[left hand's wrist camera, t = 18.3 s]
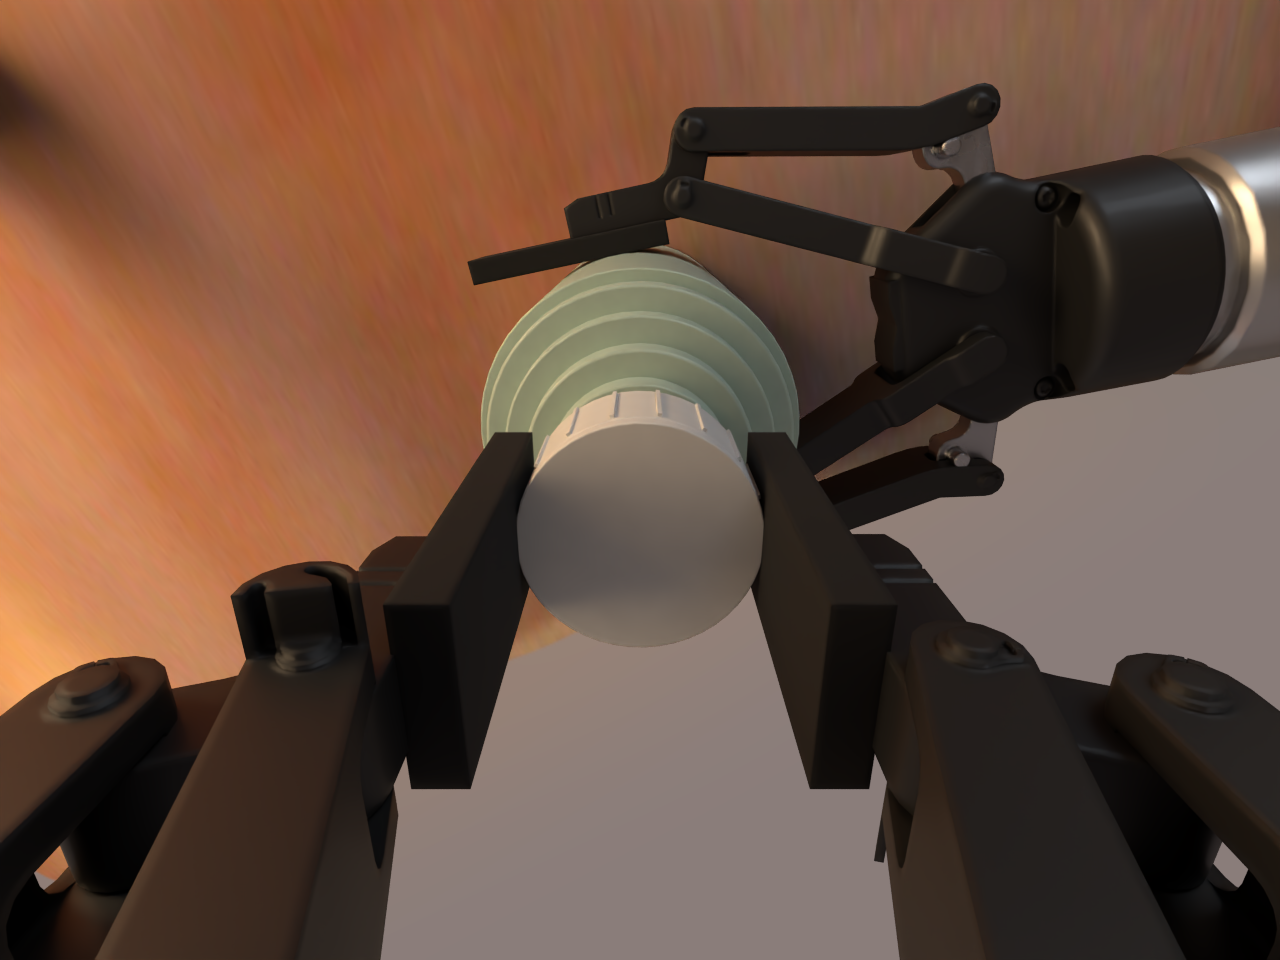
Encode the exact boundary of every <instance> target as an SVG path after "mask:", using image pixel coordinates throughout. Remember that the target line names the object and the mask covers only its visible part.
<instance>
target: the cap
mask: <svg viewBox="0 0 1280 960" xmlns="http://www.w3.org/2000/svg"><path fill="white" fill-rule="evenodd" d="M534 467H535V468H534V470H533V472H532V475H531V477H530V479H529V482H528V484H527V487H526V489H525V492H524V494H523V497H522V499H521V501H520V506H519V510H518V514H517V536H518V550H519V562H520V566H521V569H522V572H523V574H524V576H525V579H526V581H527V583H528V585H529V587H530V588H531V590H532V591H533V593H534V594H535V596H536V597H537V598H538V600H539V601H540V602H541V603H542V604H543V605H544V607H545V608H546V609H547V610H548V611H549V612H550V613H551V614H552V615H554V616H555V617H556V618H557V619H558V620H559V621H561V622H562V623H564V624H565V625H567V626H568V627H570V628H571V629H573V630H575V631H577V632H579V633H581V634H583V635H585V636H587V637H590V638H593V639H595V640H598V641H601V642H605V643H609V644H613V645H619V646H626V647H654V646H662V645H667V644H672V643H676V642H679V641H683V640H685V639H689V638H691V637H693V636H696V635H698V634H700V633H702V632H704V631H706V630H707V629H709V628H711V627H712V626H714V625H716V624H717V623H718V622H719V621H721V620H722V619H723V618H725V617H726V616H727V615H728V614H729V613H730V612H731V611H732V610H733V609H734V608H735V607H736V606H737V605H738V604H739V603H740V602H741V600H742V599H743V598H744V596H745V595H746V594H747V592H748V591H749V589H750V587H751V585H752V584H753V582H754V580H755V578H756V575H757V573H758V571H759V568H760V565H761V556H762V542H763V528H764V517H763V511H762V507H761V504H760V501H759V499H761V495H760V492H759V490H758V488H757V485H756V483H755V480H754V478H753V476H752V473H751V471H750V469H749V466H748V464H745V463H744V461H743V459H742V456H741V454H740V452H739V450H738V448H737V445H736V443H735V441H734V438H733V436H732V433H731V431H730V430H729V429H728V430H726V429H725V428H724V427H723V426H722V425H721V424H720V423H719V422H718V421H717V420H716V419H715V418H714V417H712V416H711V415H710V414H709V413H707V412H706V411H705V410H703V409H701V406H700V404H698V403H696V404H693V403H691V402H689V401H686V400H684V399H682V398H679V397H676V396H672V395H669V394H666V393H660V390H656V391H655V392H653V391H629V392H620V393H617V391H614V392H613V393H612V395H607V396H605V397H602V398H599V399H596V400H594V401H592V402H590V403H588V404H586V405H584V406H582V407H580V408H578V407H576V408H574V410H573V413H572V414H571V415H569V416H568V417H567V418H566V419H565V420H564V421H563V422H562V423H561V424H560V425H558V427H557V428H556V429H555V430H554V432H553V433H552V434H551V435H550V436H549V435H547V436H546V438H545V440H544V442H543V445H542V447H541V449H540V452H539V454H538V457H537V459H536V462H535V464H534Z"/></svg>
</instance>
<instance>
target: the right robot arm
mask: <svg viewBox="0 0 1280 960" xmlns="http://www.w3.org/2000/svg"><path fill="white" fill-rule="evenodd" d="M999 108H1000V95H999V93H998V90H997V89H996V88H995V87H994V86H993V85H990V84H987V83H982V84H976V85H974V86H971V87H968V88H966V89H963V90H960V91H958V92H955V93H952V94H949V95H947V96H944V97H942V98H939V99H936V100H934V101H931V102H929V103H926V104H924V105H921V106H863V107H693V108H689V109H686V110H685V111H683V112H682V113H681V114H680V115H679V116H678V118H677V120H676V121H675V124H674V126H673V129H672V133H671V139H670V146H669V153H668V159H667V165H666V168H665V171H664V173H663V174H662V175H661V176H660V177H659V178H658V179H657V180H655V181H653V182H650V183H647V184H643V185H638V186H633V187H629V188H624V189H620V190H615V191H611V192H606V193H601V194H597V195H592V196H588V197H583V198H579V199H577V200H575V201H574V202H572V203H571V204H570V205H568V206H567V207H565V208H564V211H565V215H566V220H567V224H568V229H569V233H570V238H569V239H564V240H559V241H555V242H550V243H545V244H541V245H536V246H531V247H527V248H522V249H517V250H513V251H508V252H504V253H499V254H494V255H490V256H485V257H482V258H478V259H475V260H472V261H468V266H469V269H470V273H471V276H472V280H473V284H474V285H478V284H483V283H487V282H492V281H497V280H502V279H506V278H511V277H516V276H520V275H525V274H530V273H535V272H539V271H544V270H549V269H554V268H558V267H563V266H568V265H572V264H577V263H582V262H587V261H591V260H596V259H601V258H606V257H610V256H615V255H620V254H624V253H629V252H634V251H639V250H643V249H648V248H653V247H658V246H662V245H667V244H669V238H668V233H667V227H666V221H665V220H670V219H674V218H679V217H681V218H685V219H689V220H693V221H697V222H701V223H705V224H709V225H713V226H716V227H720V228H724V229H728V230H732V231H736V232H740V233H744V234H748V235H751V236H755V237H759V238H763V239H767V240H771V241H775V242H779V243H783V244H786V245H790V246H794V247H798V248H802V249H806V250H810V251H814V252H818V253H821V254H825V255H829V256H833V257H837V258H841V259H845V260H848V261H852V262H856V263H860V264H864V265H868V266H872V267H876V271H875V275H874V276H870V277H869V279H870V291H871V299H872V302H873V305H874V307H875V310H876V313H877V316H878V324H877V329H876V335H875V340H874V342H875V355H876V361H877V363H876V364H874V365H873V366H871V367H870V368H868V369H867V370H865V371H864V372H862V373H861V374H860V375H858V376H857V377H856V379H855V380H854V382H853V384H852V385H851V386H849V387H848V388H847V389H845V390H844V391H842V392H841V393H839V394H838V395H836V396H835V397H833V398H832V399H830V400H829V401H827V402H826V403H824V404H823V405H821V406H820V407H818V408H817V409H815V410H814V411H812V412H811V413H809V414H808V415H806V416H805V417H803V418H802V419H800V420H799V437H798V443H797V450H798V452H799V454H800V455H801V457H802V458H803V460H804V461H805V463H806V464H807V466H808V467H809V469H810V470H811V472H812V474H813V475H815V474H817V473H818V472H820V471H822V470H823V469H825V468H826V467H828V466H829V465H831V464H832V463H834V462H836V461H837V460H839V459H840V458H842V457H843V456H845V455H846V454H848V453H850V452H851V451H853V450H854V449H856V448H857V447H859V446H860V445H862V444H864V443H865V442H867V441H868V440H870V439H871V438H873V437H874V436H876V435H878V434H879V433H881V432H882V431H884V430H886V429H887V428H890V427H898V426H901V425H904V424H906V423H908V422H909V421H911V420H912V419H914V418H915V417H917V416H919V415H920V414H922V413H923V412H925V411H926V410H928V409H930V408H931V407H933V406H934V405H936V404H938V405H940V406H942V407H944V408H947V409H949V410H951V411H953V412H955V413H957V414H959V415H960V419H959V421H958V423H957V424H956V425H955V426H954V427H953V428H952V429H950V430H948V431H945V432H942V433H939V434H935V435H933V436H932V437H931V438H930V440H929V446H921V447H915V448H910V449H906V450H903V451H900V452H897V453H894V454H891V455H888V456H886V457H883V458H880V459H878V460H875V461H872V462H870V463H867V464H864V465H862V466H859V467H856V468H854V469H851V470H848V471H845V472H843V473H840V474H837V475H835V476H832V477H829V478H827V479H824V480H821V481H819V482H818V483H819V484H820V486H821V487H822V489H823V490H824V492H825V493H826V495H827V497H828V498H829V500H830V501H831V503H832V504H833V506H834V507H835V509H836V510H837V512H838V513H839V515H840V517H841V518H842V520H843V521H844V523H845V524H846V526H847V527H848V529H849V530H851V529H854V528H856V527H859V526H862V525H865V524H868V523H870V522H873V521H876V520H878V519H881V518H884V517H887V516H890V515H892V514H895V513H898V512H901V511H904V510H906V509H909V508H912V507H915V506H918V505H920V504H923V503H926V502H929V501H932V500H934V499H937V498H941V497H966V496H986V495H991V494H993V493H995V492H996V491H998V490H999V489H1000V487H1001V486H1002V484H1003V481H1004V474H1003V472H1002V470H1001V469H1000V468H998V467H997V466H996V465H994V464H993V463H992V458H993V451H994V444H995V438H996V431H997V424H998V422H999V421H1001V420H1004V419H1005V418H1007V417H1009V416H1010V415H1012V414H1013V413H1014V412H1016V411H1017V410H1019V409H1020V408H1022V407H1024V406H1026V405H1028V404H1030V403H1033V402H1036V401H1040V400H1048V399H1056V398H1064V397H1070V396H1075V395H1080V394H1086V393H1091V392H1096V391H1102V390H1107V389H1112V388H1118V387H1123V386H1128V385H1133V384H1139V383H1144V382H1150V381H1155V380H1159V379H1162V378H1165V377H1167V376H1169V375H1172V374H1195V373H1200V372H1205V371H1210V370H1215V369H1220V368H1225V367H1230V366H1235V365H1240V364H1245V363H1250V362H1255V361H1260V360H1265V359H1270V358H1275V357H1280V127H1276V128H1271V129H1266V130H1261V131H1256V132H1251V133H1247V134H1242V135H1237V136H1232V137H1227V138H1222V139H1218V140H1213V141H1208V142H1203V143H1198V144H1193V145H1189V146H1184V147H1180V148H1176V149H1172V150H1169V151H1165V152H1163V153H1161V154H1160V155H1158V156H1154V155H1141V156H1136V157H1132V158H1127V159H1122V160H1117V161H1112V162H1108V163H1103V164H1098V165H1093V166H1089V167H1084V168H1079V169H1074V170H1069V171H1065V172H1060V173H1055V174H1050V175H1046V176H1041V177H1036V178H1031V179H1026V180H1023V179H1018V178H1014V177H1011V176H1009V175H1007V174H1004V173H999V172H995V167H994V161H993V155H992V149H991V143H990V137H989V131H988V125H987V124H989V123H990V122H992V120H993V119H994V118H995V117H996V116H997V114H998V111H999ZM911 150H912V153H913V157H914V160H915V162H916V164H917V165H918V166H919V167H920V168H922V169H925V170H934V169H940V170H944V171H945V172H947V173H948V174H949V175H950V177H951V179H952V181H953V185H951V186H950V187H949V188H948V189H947V190H946V191H945V192H944V193H943V194H942V195H941V196H940V197H939V198H938V199H937V200H936V201H935V202H934V203H933V204H932V205H931V206H930V207H929V208H928V209H927V210H926V211H925V212H924V213H923V214H922V215H921V216H920V217H919V218H918V219H917V220H916V221H915V222H914V223H913V224H912V225H911V226H910V227H909V228H908V229H907V230H906V231H905V232H902V231H898V230H894V229H890V228H885V227H880V226H876V225H871V224H867V223H864V222H860V221H856V220H852V219H848V218H845V217H841V216H837V215H833V214H829V213H825V212H822V211H818V210H814V209H810V208H806V207H803V206H799V205H795V204H791V203H787V202H784V201H780V200H776V199H772V198H768V197H765V196H761V195H757V194H753V193H749V192H746V191H742V190H738V189H734V188H730V187H726V186H723V185H719V184H715V183H711V182H707V181H704V175H705V169H706V163H707V157H747V156H880V155H891V154H896V153H901V152H906V151H911Z"/></svg>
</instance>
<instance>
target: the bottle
mask: <svg viewBox="0 0 1280 960" xmlns="http://www.w3.org/2000/svg"><path fill="white" fill-rule="evenodd" d="M656 390H660V393H666V394H669V395H672V396H676V397H679V398H682V399H684V400H686V401H689V402H691V403H693V404H696V403H698V404H700V406H701V409H703V410H705V411H706V412H707V413H709V414H710V415H711V416H712V417H714V418H715V419H716V420H717V421H718V422H719V423H720V424H721V425H722V426H723V427H724V428H725V429H726V430H728V429H729V430H730V431H731V433H732V436H733V438H734V441H735V443H736V445H737V448H738V450H739V452H740V454H741V456H742V459H743V461H744V463H745V464H746V459H747V442H748V432H786V434H787V435H788V437H789V438H790V440H791V441H792V443H793V444H794V446H795V447H796V449H797V443H798V437H799V405H798V396H797V391H796V387H795V383H794V379H793V375H792V372H791V370H790V367H789V365H788V362H787V360H786V358H785V355H784V353H783V351H782V350H781V348H780V346H779V345H778V343H777V341H776V340H775V338H774V336H773V335H772V334H771V332H770V331H769V330H768V329H767V327H766V326H765V325H764V324H763V322H762V321H761V320H760V319H759V318H758V317H757V316H756V315H755V314H754V313H753V312H752V311H751V310H750V309H749V308H748V307H747V306H746V305H745V304H743V303H742V302H741V301H740V300H739V299H738V298H737V297H736V296H735V295H734V294H733V293H731V292H730V291H729V290H728V289H727V288H726V287H725V286H724V285H723V284H722V283H720V282H719V281H718V280H717V279H716V278H715V277H714V276H713V275H712V274H711V273H709V272H708V271H707V270H706V269H705V268H704V267H703V266H702V265H701V264H699V263H698V262H697V261H695V260H694V259H692V258H691V257H690V256H688V255H686V254H684V253H682V252H680V251H678V250H675V249H673V248H670V247H667V246H663V245H662V246H658V247H653V248H648V249H643V250H639V251H634V252H629V253H624V254H620V255H615V256H610V257H606V258H601V259H596V260H591V261H587V262H582V263H581V264H580V265H579V266H577V267H576V268H575V269H574V270H573V271H572V272H571V273H570V274H569V275H568V276H567V277H565V278H564V279H563V280H562V281H561V282H560V283H559V284H558V285H557V286H556V287H554V288H553V289H552V290H551V291H550V292H549V293H548V294H547V295H546V296H545V297H544V298H542V299H541V300H540V301H539V302H538V303H537V304H536V305H535V306H534V307H533V308H532V309H531V310H530V311H528V312H527V313H526V314H525V315H524V316H523V317H522V318H521V319H520V320H519V322H518V323H517V324H516V325H515V327H514V328H513V329H512V330H511V332H510V333H509V334H508V335H507V337H506V339H505V340H504V342H503V344H502V345H501V347H500V349H499V350H498V352H497V354H496V356H495V359H494V361H493V363H492V366H491V368H490V371H489V373H488V377H487V381H486V385H485V388H484V392H483V400H482V408H481V434H482V440H483V447H484V448H485V447H486V445H487V444H488V442H489V440H490V439H491V437H492V436H493V434H494V433H495V432H532V434H533V451H534V464H535V462H536V459H537V457H538V454H539V452H540V449H541V447H542V445H543V442H544V440H545V438H546V436H547V435H549V436H550V435H551V434H552V433H553V432H554V430H555V429H556V428H557V427H558V425H560V424H561V423H562V422H563V421H564V420H565V419H566V418H567V417H568V416H569V415H571V414H572V413H573V410H574V408H576V407H578V408H580V407H582V406H584V405H586V404H588V403H590V402H592V401H594V400H596V399H599V398H602V397H605V396H607V395H612V393H613V392H614V391H617V393H620V392H629V391H653V392H655V391H656ZM534 468H535V467H534Z"/></svg>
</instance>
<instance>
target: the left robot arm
mask: <svg viewBox="0 0 1280 960" xmlns="http://www.w3.org/2000/svg"><path fill="white" fill-rule="evenodd" d="M746 464H748V466H749V469H750V471H751V473H752V476H753V478H754V480H755V483H756V485H757V488H758V490H759V492H760V495H761V499H759V501H760V504H761V507H762V511H763V517H764V528H763V542H762V556H761V565H760V568H759V571H758V573H757V575H756V578H755V580H754V582H753V584H752V585H751V589H752V592H753V596H754V599H755V602H756V606H757V609H758V613H759V616H760V620H761V623H762V626H763V630H764V633H765V637H766V640H767V644H768V647H769V650H770V654H771V657H772V661H773V664H774V667H775V671H776V674H777V678H778V681H779V685H780V688H781V691H782V695H783V698H784V702H785V705H786V709H787V712H788V715H789V718H790V722H791V726H792V729H793V732H794V736H795V739H796V743H797V746H798V750H799V753H800V756H801V760H802V763H803V766H804V770H805V774H806V777H807V780H808V784H809V787H810V789H869V787H870V780H871V774H872V767H873V761H874V755H876V757H877V760H878V762H879V764H880V766H881V769H882V771H883V774H884V776H885V778H886V780H887V785H886V791H885V797H884V803H883V809H882V815H881V821H880V827H879V833H878V839H877V845H876V851H875V858H874V861H878V862H884V857H885V852H887V860H888V868H889V876H890V884H891V892H892V900H893V908H894V916H895V924H896V932H897V941H898V949H899V957H900V960H1280V711H1279V710H1278V709H1276V708H1275V707H1274V706H1272V705H1271V704H1270V703H1268V702H1267V701H1266V700H1265V699H1263V698H1262V697H1261V696H1259V695H1258V694H1257V693H1255V692H1254V691H1253V690H1251V689H1250V688H1248V687H1247V686H1245V685H1243V684H1242V683H1240V682H1239V681H1237V680H1235V679H1234V678H1232V677H1230V676H1229V675H1227V674H1225V673H1222V672H1220V671H1218V670H1215V669H1213V668H1210V667H1208V666H1207V665H1206V664H1204V663H1202V662H1199V661H1195V660H1192V659H1189V658H1188V659H1184V657H1180V656H1175V655H1162V654H1152V653H1143V654H1136V655H1129V656H1126V657H1125V658H1124V659H1122V660H1121V661H1120V662H1118V663H1117V664H1116V668H1115V671H1114V674H1113V678H1112V681H1111V684H1110V686H1108V685H1102V684H1097V683H1092V682H1087V681H1081V680H1076V679H1071V678H1065V677H1060V676H1056V675H1051V674H1047V673H1043V672H1040V670H1039V668H1038V666H1037V664H1036V662H1035V660H1034V658H1033V657H1032V656H1031V655H1030V653H1029V652H1028V651H1027V650H1026V649H1025V647H1024V646H1023V645H1021V644H1020V643H1018V642H1017V641H1015V640H1014V639H1012V638H1011V637H1009V636H1008V635H1006V634H1004V633H1002V632H999V631H997V630H994V629H992V628H989V627H987V626H984V625H981V624H976V623H971V622H966V620H965V619H964V618H963V617H962V615H961V614H960V613H959V612H958V610H957V609H956V608H955V606H954V605H953V604H952V603H951V601H950V600H949V599H948V598H947V596H946V595H945V594H944V593H943V591H942V590H941V589H940V588H939V586H938V585H937V584H936V583H933V579H932V577H931V576H930V575H929V574H928V572H927V571H926V570H925V569H922V565H921V563H920V562H919V561H918V560H917V558H916V557H915V556H914V555H913V553H912V552H911V551H910V550H909V548H907V547H905V546H904V545H902V544H900V543H898V542H897V541H895V540H894V539H892V538H890V537H889V536H887V535H885V534H852V533H851V532H850V530H849V529H848V527H847V526H846V524H845V523H844V521H843V520H842V518H841V517H840V515H839V513H838V512H837V510H836V509H835V507H834V506H833V504H832V503H831V501H830V500H829V498H828V497H827V495H826V493H825V492H824V490H823V489H822V487H821V486H820V484H819V483H818V481H817V480H816V478H815V477H814V475H813V474H812V472H811V470H810V469H809V467H808V466H807V464H806V463H805V461H804V460H803V458H802V457H801V455H800V454H799V452H798V450H797V449H796V447H795V446H794V444H793V443H792V441H791V440H790V438H789V437H788V435H787V434H786V432H748V442H747V459H746ZM533 470H534V451H533V434H532V432H495V433H494V434H493V436H492V437H491V439H490V440H489V442H488V444H487V445H486V447H485V448H484V450H483V451H482V453H481V454H480V456H479V457H478V459H477V460H476V462H475V464H474V465H473V467H472V468H471V470H470V471H469V473H468V474H467V476H466V477H465V479H464V480H463V482H462V483H461V485H460V487H459V488H458V490H457V491H456V493H455V494H454V496H453V497H452V499H451V500H450V502H449V503H448V505H447V507H446V508H445V510H444V511H443V513H442V514H441V516H440V517H439V519H438V520H437V522H436V523H435V525H434V527H433V528H432V530H431V531H430V533H429V534H428V536H396V537H394V538H393V539H391V540H389V541H388V542H386V543H385V544H383V545H381V546H380V547H378V548H376V549H375V550H373V551H372V552H371V553H370V554H369V556H368V557H367V558H366V559H365V561H364V562H363V563H362V565H361V566H360V567H359V571H355V570H354V569H352V568H351V567H350V566H348V565H345V564H341V563H336V562H331V561H317V562H304V563H298V564H292V565H287V566H283V567H280V568H277V569H274V570H271V571H268V572H265V573H262V574H260V575H258V576H256V577H255V578H253V579H251V580H249V581H247V582H245V583H244V584H242V585H241V586H240V587H239V588H238V589H237V590H236V591H235V592H234V593H233V594H232V595H231V600H232V604H233V608H234V612H235V616H236V620H237V624H238V628H239V632H240V636H241V640H242V644H243V648H244V652H245V657H246V661H245V663H244V665H243V667H242V669H241V671H240V673H239V675H238V676H234V677H230V678H226V679H221V680H216V681H210V682H205V683H200V684H195V685H190V686H184V687H179V688H174V689H171V686H170V682H169V679H168V676H167V672H166V669H165V667H164V666H163V665H162V664H160V663H159V662H158V661H156V660H155V659H151V658H145V657H138V656H132V657H121V658H108V659H103V660H98V661H97V662H96V663H94V662H90V663H87V664H84V665H81V666H78V667H77V668H75V669H74V670H72V671H69V672H67V673H65V674H62V675H60V676H58V677H55V678H53V679H52V680H50V681H49V682H47V683H45V684H44V685H42V686H41V687H39V688H37V689H36V690H34V691H33V692H31V693H30V694H28V695H27V696H26V697H24V698H23V699H22V700H21V701H19V702H18V703H17V704H15V705H14V706H13V707H12V708H10V709H9V710H8V711H6V712H5V713H4V714H3V715H1V716H0V960H380V958H381V950H382V942H383V934H384V926H385V918H386V910H387V902H388V894H389V886H390V878H391V870H392V862H393V853H394V845H395V837H396V829H397V821H398V810H397V803H396V797H395V791H394V783H395V781H396V778H397V776H398V774H399V771H400V769H401V767H402V764H403V762H404V760H405V757H406V758H407V765H408V771H409V777H410V784H411V789H471V785H472V782H473V779H474V775H475V772H476V768H477V765H478V761H479V758H480V755H481V751H482V748H483V744H484V741H485V737H486V734H487V730H488V727H489V724H490V720H491V717H492V713H493V710H494V707H495V703H496V700H497V696H498V693H499V689H500V686H501V683H502V679H503V676H504V672H505V669H506V666H507V662H508V659H509V655H510V652H511V649H512V645H513V642H514V638H515V635H516V631H517V628H518V625H519V621H520V618H521V614H522V611H523V607H524V604H525V601H526V597H527V594H528V590H529V585H528V583H527V581H526V579H525V576H524V574H523V572H522V569H521V566H520V562H519V550H518V536H517V514H518V510H519V506H520V501H521V499H522V497H523V494H524V492H525V489H526V487H527V484H528V482H529V479H530V477H531V475H532V472H533ZM1222 842H1223V843H1224V844H1225V845H1226V846H1227V847H1228V848H1229V849H1230V850H1231V851H1232V852H1233V853H1234V854H1235V856H1236V857H1237V858H1238V859H1239V860H1240V861H1241V862H1242V863H1243V864H1244V865H1245V866H1246V867H1247V868H1248V871H1247V874H1246V876H1245V878H1244V880H1243V883H1242V884H1241V885H1240V887H1239V888H1238V887H1236V886H1235V885H1234V884H1232V883H1231V882H1230V881H1229V880H1228V879H1227V878H1226V877H1225V876H1224V875H1223V874H1222V873H1221V872H1220V871H1219V870H1218V869H1217V868H1216V866H1215V865H1214V864H1213V863H1214V860H1215V858H1216V855H1217V853H1218V851H1219V848H1220V846H1221V843H1222ZM59 846H61V849H62V851H63V854H64V856H65V859H66V861H67V863H68V866H69V867H68V868H67V869H66V870H65V871H64V872H63V873H62V875H61V876H60V877H59V878H58V879H57V880H56V881H55V882H53V883H52V884H51V885H50V886H48V887H47V888H46V889H45V890H43V889H42V888H41V887H40V886H39V883H38V881H37V879H36V877H35V874H34V872H35V871H36V870H37V869H38V868H39V867H40V866H41V865H42V864H43V863H44V862H45V861H46V859H47V858H48V857H49V856H50V855H51V854H52V853H53V852H54V851H55V850H56V849H57V848H58V847H59Z"/></svg>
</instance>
